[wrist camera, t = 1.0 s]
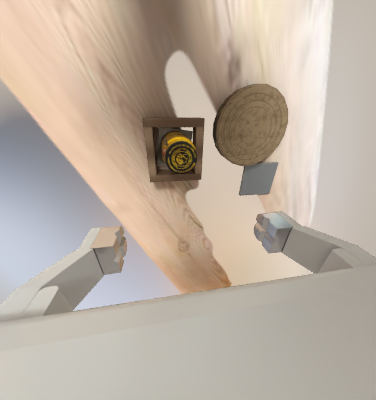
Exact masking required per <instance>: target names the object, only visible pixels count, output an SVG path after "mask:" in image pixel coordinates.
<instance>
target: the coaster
mask: <svg viewBox="0 0 376 400" xmlns="http://www.w3.org/2000/svg"><path fill="white" fill-rule="evenodd" d="M277 166H278V163H277V162H271V163H256V164H253V165H247V166H244V171H243V176H242V181H241V186H240V191H239V195H240V196H241V195H254V194H269V192H270V189H271V185H272V182H273V179H274V175H275V172H276V169H277Z"/></svg>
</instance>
